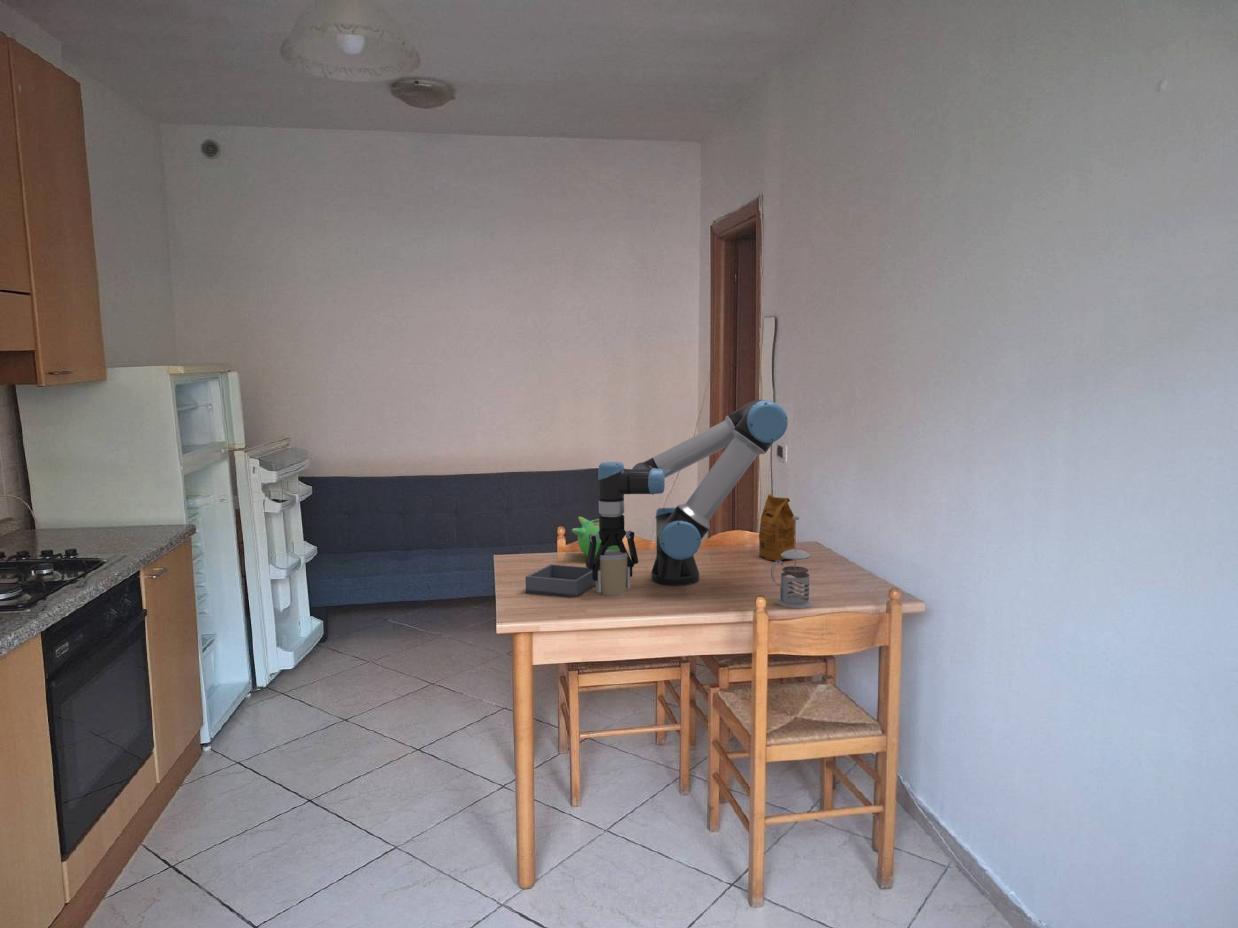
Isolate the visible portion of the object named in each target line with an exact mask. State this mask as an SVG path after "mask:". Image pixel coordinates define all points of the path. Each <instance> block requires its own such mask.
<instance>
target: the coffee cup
mask: <svg viewBox="0 0 1238 928" xmlns="http://www.w3.org/2000/svg"><path fill="white" fill-rule="evenodd" d="M627 552H628V551H627ZM627 552H626V553H622V552H620V550H606V552H605V554H604V555H600V557H601V558H600V566H599V570H601V592H599V593H600V594H601V595H603V596H609V597H610V596H611V597H612V596H613V597H615V596H621V595H625V593H626V590H627V588H626V577H627V557H628V555H629V553H628V554H627Z"/></svg>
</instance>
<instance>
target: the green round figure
mask: <svg viewBox="0 0 1238 928" xmlns="http://www.w3.org/2000/svg"><path fill="white" fill-rule="evenodd" d="M578 521H579V523H580V525H581V527H575V528H572V529H571V532H572V533H573V534H574V535H576V536H577V544H578V547H579V550H580V551H581V552H582V553H583V554H584V555H585V556H586V557H587V556H588V551H589V545H590V540H589V535H595V534H598V532H599V518H594V519H592V520H590V519H586V517H585V518H584V517H583V516H578ZM600 543H601V539H600V538H598V541H597V545H596V551H595V557H596V555H597V552H598V550H599V548H600ZM607 550H619V548H618V546H614V545H613V546H609V547H608V549H607ZM595 557H594V560H595Z"/></svg>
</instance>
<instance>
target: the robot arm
mask: <svg viewBox="0 0 1238 928" xmlns="http://www.w3.org/2000/svg"><path fill="white" fill-rule="evenodd" d="M788 421H789V420H788V415H787V413H786V411H785V409H783V407H782V406H781V405H779V404H778V403H777V402H775V401H773V400H768V399H767V400H765V399H755V400H752V401H749V402H748V403H746V404H744V405H743V406H742V407H740V408H739V409H737V410H735V411H733V412H731V413H729V414H728V415H726V416H725V419H724V420H723V421H721V422H719V423H717V424H716V425H713V426H712V427H710V428H708V429H706V430H704V431H702V432H700V433H697V434H696V435H694V436H692V437H690V438H688V439H686V440H684V441H682V442H680V443H678V444H677V445H674V446H672V447H671V448H669V449H667V450H665V451H663V452H661V453H659V454H656V455H655V456H653V457H651V458H649V459H647V460H645V461H642V462H637V463H636V464H635V465H633V467H632V468H625V467H624V463H623V462H621V461H606V462H601V463H599V465H598V472H597V473H598V475H597V477H598V478H597V484H598V486H597V487H598V513H599V514H600V515H599V516H598V519H599V532H598V534H595V535H589V540H590V545H589V551H588V556H586V557H587V558H586V563H585V567H587V568H589V569H592V579H593V580H594V581H595V591H596V592H598V593H600V592H601V570H599V566H600V558H601V557H600V555H604V554H605V552H606V550H607V549H608V547H609V546H613V545H614V546H618V548H619V550H620V552H622V553H626V552H627V554H628V557H627V577H626V590H627V589H631V577H633V568H634V567H635V565H636V564H638V563H639V557H638V553H637V548H636V543H635V532H634V531H631V530H628V531H626V529H625V515H624V514H625V495H658V494H659V495H660V494H664V492H665V485H666V484H665V481H666V478H669V477H670V476H672V475H674V474H676V473H678V472H680V471H682V470H684V469H686V468H688V467H690V466H692V465H694V464H696V463H697V462H700V461H702V460H704V459H706V458H708V457H710V456H712V455H714V454H715V453H718V452H719V451H722V450H723V449H724V450H723V452H722V453H721V455H720V456H719V457H718V459H717V460H716V461H715V463H714V464H713V466H711V468H710V469H709V471H708V472H707V473H706V475H705V476H704V478H703V479H702V481H701V482H700V483H699V484H698V486H697V487H696V488H695V490H694V491H693V493H692V494H691V496H689V498H688V499H687V500H686V502H685V503H682V504H677V506H675V507H674V506H671V507H660V508H657V509H656V512H655V520H656V523H655V525H656V526H655V527H656V528H655V529H656V531H655V532H656V534H655V535H656V536H655V537H656V540H655V541H656V554H655V555H656V556H655V559H654V562H653V566H652V569H651V573H650V576H651V577H650V579H651V581H652V582H654V583H656V584H659V585H666V586H686V585H691V584H696V583H697V582H699V581H700V571H699V568H698V564H697V562H696V560H695V559H696V558H695V554H697V552H698V551H699V550H700V549H699V548H700V547H701V543H702V540H703V538H704V537H705V536H706V534H707V533H708V531H709V530H710V529H711V526H710V520H711V518H713V516H714V515H715V514H716V512H717V511H718V509H719V508H720V506H721V505H722V504H723V502H724V501H725V500H726V498H727V497H728V496H729V494H730V493H731V492H732V491H733V489H734V488H735V487H736V485H737V484H738V483H739V481H740V480H741V478H742V477H743V476H744V474H745V473H746V471H747V470H748V469H749V467H750V466H751V464H752V463H753V462H754V461H755V459H756V458H757V457H758V456H759V455H765V454H766V453H767V452H768V450H770V448H771V446H772V445H773V444H774V443H775V442H777V441H778V440H780V439H781V438H782V437H783V436H784V435H785V433H786V431H787V429H788V424H789V423H788ZM598 538H600V539H601V543H600V548H599V550H598V552H597V555H596V557H595V551H596V545H597V541H598ZM624 538H626V540H627V546H628V551H629V553H628V551H627V549H626V547H625V544H624V541H623V540H624ZM594 557H595V559H594Z"/></svg>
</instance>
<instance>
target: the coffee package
mask: <svg viewBox="0 0 1238 928" xmlns="http://www.w3.org/2000/svg"><path fill="white" fill-rule="evenodd" d="M789 502H791V500H790V498H789V497H775V496H774V495H772V494H771V493H769V494H768V496H767V498H766V501H765V503H764V507H763V509H762V513H761V516H760V517H761V518H760V524H759V534H758V542H759V543H758V544H759V548H758V551H759V552H758V556H759V557H762V558H764V559H766V560H767V559H769V560H768V561H772V560H773V561H772V562H776V561H778V560H781V561H783V560H787V559H786V558H783V557H781V554H782V553H783V552H785V551H788V550H791V549H795V520H793V519H792V517H793V516H794V513H793V511H792V509H791V507H790V504H789ZM778 562H779V561H778Z"/></svg>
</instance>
